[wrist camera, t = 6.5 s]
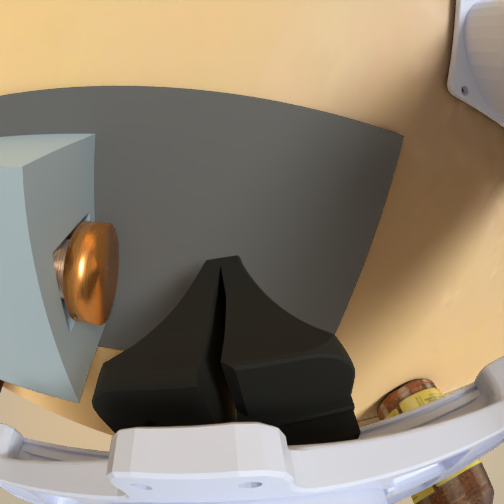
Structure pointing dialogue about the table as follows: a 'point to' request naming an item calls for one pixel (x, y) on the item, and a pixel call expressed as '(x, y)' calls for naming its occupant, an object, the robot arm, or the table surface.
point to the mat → (221, 193)
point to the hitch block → (43, 261)
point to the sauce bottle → (460, 483)
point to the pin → (88, 271)
